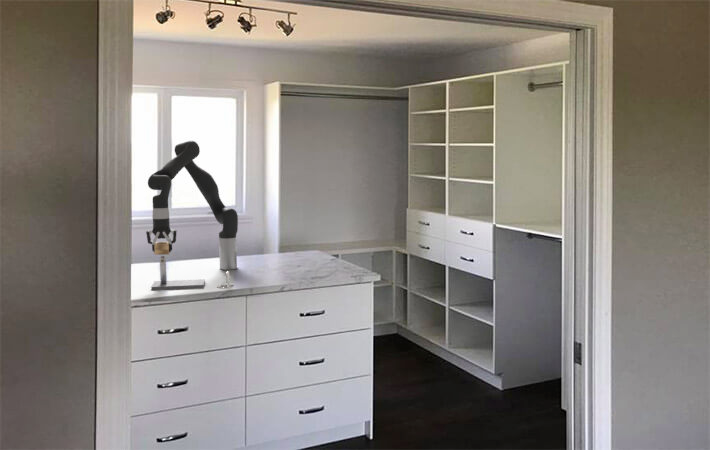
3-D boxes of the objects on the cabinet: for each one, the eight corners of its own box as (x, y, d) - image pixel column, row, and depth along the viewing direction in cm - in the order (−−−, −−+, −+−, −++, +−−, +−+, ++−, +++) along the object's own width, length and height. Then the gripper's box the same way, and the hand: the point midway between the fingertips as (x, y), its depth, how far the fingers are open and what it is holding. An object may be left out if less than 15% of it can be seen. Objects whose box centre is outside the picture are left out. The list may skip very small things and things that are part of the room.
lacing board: (205, 282, 314) (204, 279, 314) (203, 287, 303) (203, 284, 302) (154, 284, 310) (154, 281, 310) (151, 290, 298) (151, 286, 298)
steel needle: (167, 282, 306) (165, 255, 305) (166, 284, 304) (165, 256, 302) (161, 283, 306) (159, 255, 304) (160, 284, 303) (159, 256, 301)
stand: (216, 286, 306) (232, 285, 309) (217, 288, 302) (234, 287, 304) (215, 270, 305) (232, 269, 308) (216, 272, 301) (233, 271, 303)
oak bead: (170, 251, 306) (169, 241, 306) (168, 254, 300) (168, 243, 300) (156, 252, 305) (155, 242, 305) (154, 254, 299) (154, 244, 298)
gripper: (177, 216, 305) (178, 250, 308) (146, 216, 303) (147, 251, 305) (175, 217, 298) (177, 252, 300) (144, 218, 295) (145, 253, 298)
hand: (162, 251), depth 303 cm, fingers closed on oak bead, 6 cm apart
